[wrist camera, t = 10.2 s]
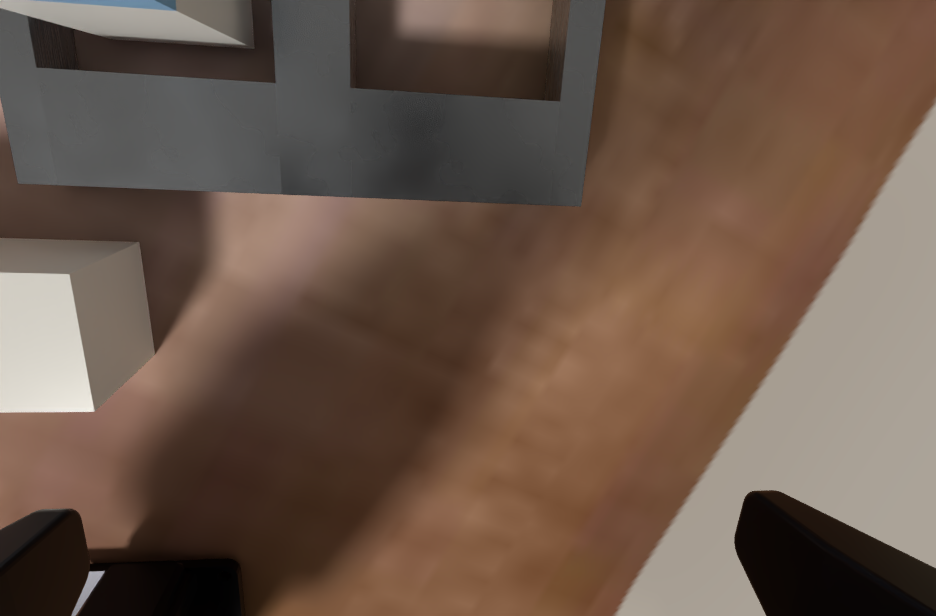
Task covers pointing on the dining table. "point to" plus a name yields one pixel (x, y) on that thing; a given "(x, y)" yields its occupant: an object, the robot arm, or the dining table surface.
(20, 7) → the plug
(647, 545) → the dining table surface
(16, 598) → the robot arm
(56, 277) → the plug
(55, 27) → the panel
